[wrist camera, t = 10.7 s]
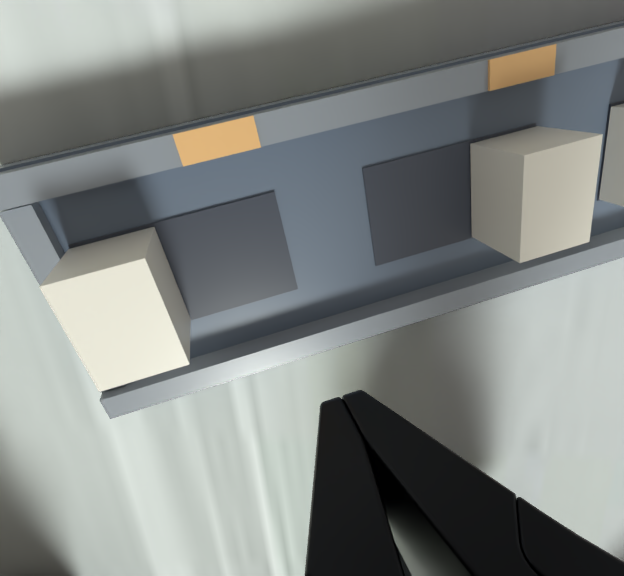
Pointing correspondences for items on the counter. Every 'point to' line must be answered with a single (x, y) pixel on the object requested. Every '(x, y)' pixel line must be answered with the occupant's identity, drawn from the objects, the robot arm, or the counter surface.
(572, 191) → the off-white rectangular block
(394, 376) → the counter surface
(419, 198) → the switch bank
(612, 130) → the beige block
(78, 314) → the cream block
